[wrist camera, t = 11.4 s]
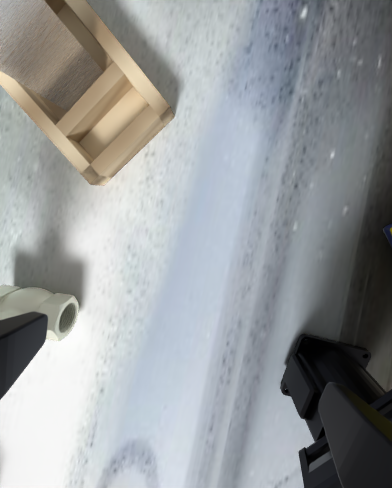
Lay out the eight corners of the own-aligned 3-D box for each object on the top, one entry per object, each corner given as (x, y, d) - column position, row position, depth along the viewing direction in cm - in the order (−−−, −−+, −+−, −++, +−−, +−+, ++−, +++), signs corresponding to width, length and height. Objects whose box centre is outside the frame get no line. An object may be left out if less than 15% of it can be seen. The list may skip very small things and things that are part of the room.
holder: (174, 117, 18) (169, 106, 15) (103, 185, 19) (90, 184, 17) (68, -16, 16) (47, -49, 14) (-1, 69, 17) (-30, 51, 15)
